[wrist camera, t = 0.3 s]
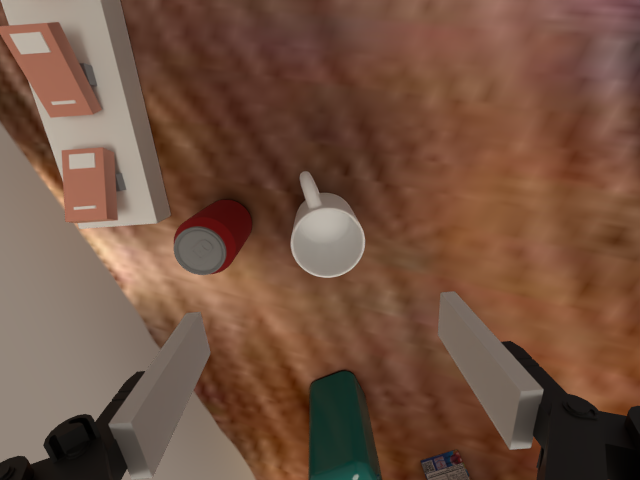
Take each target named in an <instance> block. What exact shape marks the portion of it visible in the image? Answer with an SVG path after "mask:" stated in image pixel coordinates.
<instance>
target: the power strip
mask: <svg viewBox="0 0 640 480" xmlns="http://www.w3.org/2000/svg"><path fill="white" fill-rule="evenodd" d="M1 3H2V6H3V9H4V11H5V14H6V17H7V20H8V23H9V25H23V24H36V23H50V22H59V23H60V25H61V27H62V29H63V31H64V33H65V35H66V37H67V39H68V41H69V43H70V45H71V48H72V50H73V52H74V54H75V56H76V58H77V60H78V62H79V64H80V66H81V68H82V70H83V72H84V74H85V76H86V78H87V80H88V82H89V84H90V86H91V88H92V90H93V92H94V95H95V97H96V99H97V101H98V103H99V105H100V107H101V109H102V110H101V111H99V112H97V113H95V114H93V115H81V116H67V117H53V118H50V116H49V114H48V113H47V111H46V109H45V108H44V106H43V104H42V103H41V101H40V99H39V98H38V96H37V94H36V93H35V91H34V89H33V88H32V86H31V84H30V83H29V84H30V87H31V90H32V93H33V96H34V99H35V102H36V104H37V107H38V110H39V113H40V116H41V119H42V122H43V125H44V128H45V131H46V133H47V136H48V139H49V142H50V145H51V148H52V151H53V154H54V157H55V160H56V163H57V165H58V168H59V171H60V174H61V177H62V180H63V168H62V150H72V149H86V148H99V147H103V148H105V149H108V150H110V151H112V152H114V162H115V179H116V195H117V212H118V220H115V221H101V222H87V223H77V224H78V226H79V229H84V228H98V227H112V226H126V225H139V224H153V223H158V222H160V221H162V220H164V219H166V218H168V217H169V216H171V213H170V209H169V204H168V200H167V196H166V192H165V188H164V183H163V179H162V175H161V171H160V166H159V162H158V158H157V154H156V150H155V145H154V141H153V137H152V133H151V128H150V124H149V120H148V116H147V112H146V107H145V103H144V99H143V95H142V90H141V86H140V82H139V78H138V73H137V69H136V65H135V61H134V57H133V52H132V48H131V44H130V40H129V35H128V31H127V27H126V23H125V19H124V14H123V10H122V6H121V2H120V0H1Z"/></svg>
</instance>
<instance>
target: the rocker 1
mask: <svg viewBox="0 0 640 480" xmlns="http://www.w3.org/2000/svg"><path fill="white" fill-rule="evenodd" d="M0 34H1V36H2V38H3V39H4V41H5V43H6V44H7V46H8V48H9V49H10V51H11V53H12V54H13V56H14V58H15V59H16V61H17V63H18V64H19V66H20V68H21V69H22V71H23V73H24V74H25V76H26V78H27V79H28V81H29V83H30V84H31V86H32V88H33V89H34V91H35V93H36V94H37V96H38V98H39V99H40V101H41V103H42V104H43V106H44V108H45V109H46V111H47V113H48V114H49V116H50V118H53V117H67V116H81V115H93V114H95V113H97V112H99V111H101V110H102V109H101V107H100V105H99V103H98V101H97V99H96V97H95V95H94V92H93V90H92V88H91V86H90V84H89V82H88V80H87V78H86V76H85V74H84V72H83V70H82V68H81V66H80V64H79V62H78V60H77V58H76V56H75V54H74V52H73V50H72V48H71V45H70V43H69V41H68V39H67V37H66V35H65V33H64V31H63V29H62V27H61V25H60V23H59V22H50V23H36V24H23V25H9V26H0Z"/></svg>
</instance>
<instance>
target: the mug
mask: <svg viewBox="0 0 640 480" xmlns="http://www.w3.org/2000/svg"><path fill="white" fill-rule="evenodd" d="M300 183H301V187H302V190H303V193H304V196H305V199H306V200H305V201H304V202H303V203H302V204H301V205H300V207H299V209H298V211H297V213H296V217H295V222H294V227H293V231H292V236H291V250H292V254H293V256H294V258H295V260H296V262H297V263H298V264H299V265H300V267H301V268H303V269H304V270H305V271H307V272H308V273H310V274H312V275H315V276H318V277H325V278H329V277H336V276H340V275H342V274H345V273H346V272H348V271H350V270H351V269H352V268H353V267H354V266H355V265H356V264H357V263H358V262H359V260H360V259H361V257H362V255H363V252H364V247H365V236H364V232H363V229H362V227H361V225H360V223H359V222H358V220H357V218H356V216H355V214H354V212H353V211H352V209H351V207H350V206H349V204H348V203H347V202H346V201H345V200H344V199H343V198H341V197H340V196H338V195H335V194H332V193H319V191H318V188H317V186H316V184H315V182H314V179H313V177H312V176H311V174H310V173H309V172H308V171H303V172H302V173H301V174H300Z"/></svg>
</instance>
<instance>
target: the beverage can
mask: <svg viewBox="0 0 640 480" xmlns="http://www.w3.org/2000/svg"><path fill="white" fill-rule="evenodd" d="M251 230H252V220H251V217H250V214H249V212H248V211H247V210H246V208H245V207H244V206H242V205H241V204H239V203H238V202H235V201H232V200H219V201H216V202H214V203H213V204H211V205H209V206H208V207H206V208H205V209H203V210H201V211H200V212H198V213H197V214H195V215H194V216H192V217H191V218H189V219H188V220H187V221H185V222H184V223H183V224H181V225H180V227H179V228H178V229H177V231H176V234H175V237H174V254H175V257H176V259H177V261H178V263H179V264H180V265H181V266H182V267H183V268H184V269H186V270H187V271H189V272H191V273H194V274H198V275H207V274H215V273H218V272H221V271H223V270H225V269H226V268H227V267H228V266H229V265H230V264H231V263H232V261H233V260H234V258H235V257H236V255H237V254H238V252H239V251H240V249H241V248H242V246H243V245H244V243H245V242H246V240H247V238H248V236H249V235H250V233H251Z"/></svg>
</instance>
